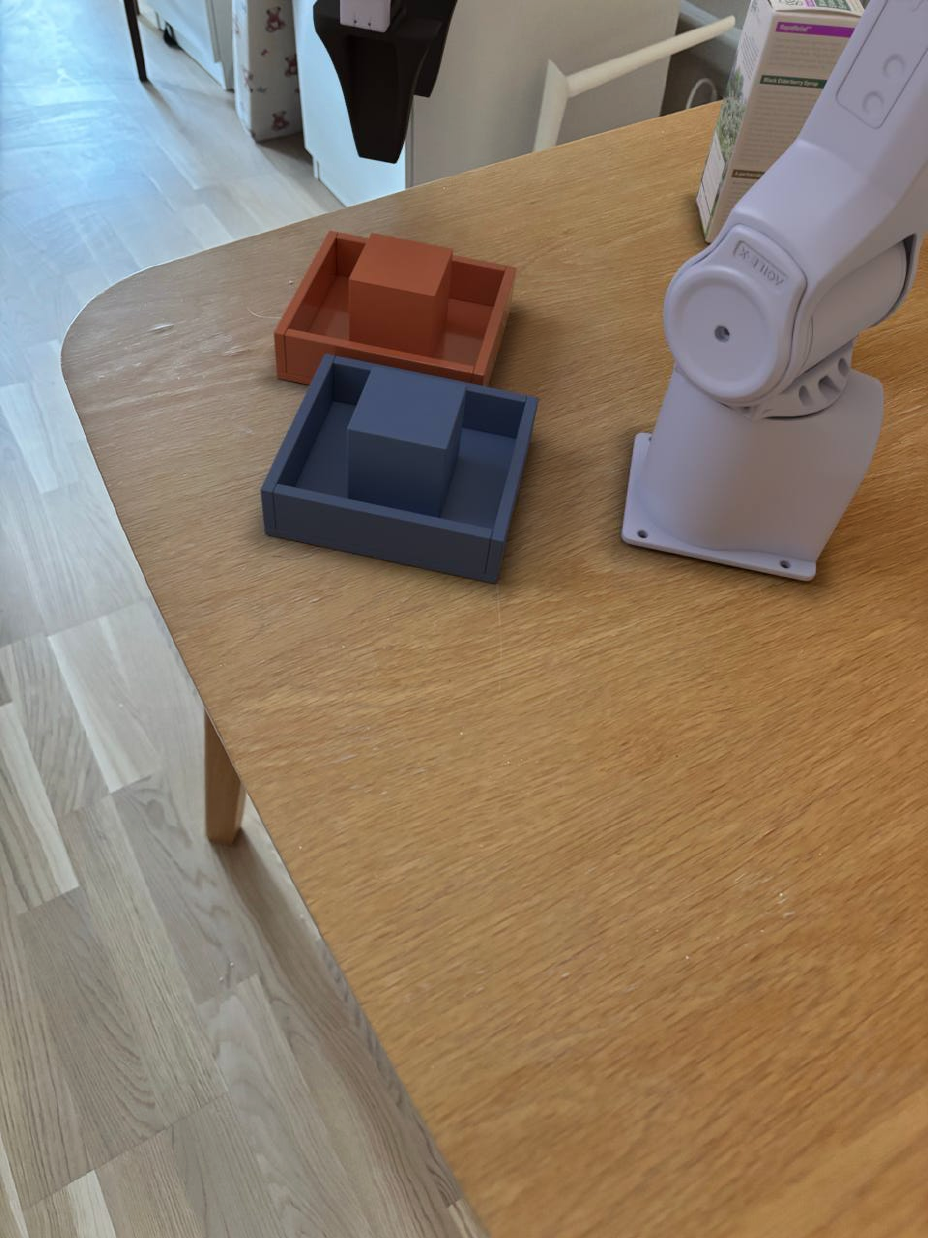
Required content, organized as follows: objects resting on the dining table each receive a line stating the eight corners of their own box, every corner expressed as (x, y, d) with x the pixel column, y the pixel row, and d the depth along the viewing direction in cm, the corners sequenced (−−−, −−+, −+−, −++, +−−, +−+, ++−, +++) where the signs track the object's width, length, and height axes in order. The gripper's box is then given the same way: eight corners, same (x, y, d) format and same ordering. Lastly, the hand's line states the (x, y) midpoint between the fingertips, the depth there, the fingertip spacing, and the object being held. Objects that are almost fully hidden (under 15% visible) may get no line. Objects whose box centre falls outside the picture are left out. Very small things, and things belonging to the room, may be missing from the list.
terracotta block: (446, 319, 57) (453, 248, 53) (429, 368, 54) (435, 295, 50) (369, 304, 57) (371, 231, 53) (348, 351, 54) (348, 278, 50)
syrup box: (787, 252, 65) (879, 15, 54) (700, 244, 65) (775, 4, 54) (771, 207, 69) (855, -25, 57) (690, 199, 69) (757, -35, 57)
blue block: (458, 456, 50) (467, 384, 46) (439, 520, 47) (446, 448, 43) (371, 438, 50) (372, 365, 46) (346, 500, 47) (346, 427, 43)
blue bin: (530, 441, 52) (539, 396, 49) (496, 584, 45) (504, 541, 43) (325, 398, 52) (324, 352, 50) (264, 534, 46) (259, 489, 44)
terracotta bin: (510, 311, 59) (517, 266, 56) (478, 420, 52) (484, 375, 50) (329, 275, 59) (328, 229, 57) (276, 378, 53) (273, 332, 50)
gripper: (361, -254, 46) (359, 53, 57) (261, -171, 37) (281, 174, 48) (508, -229, 46) (478, 75, 56) (442, -139, 37) (421, 202, 47)
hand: (396, 123), depth 52 cm, fingers open, 7 cm apart
